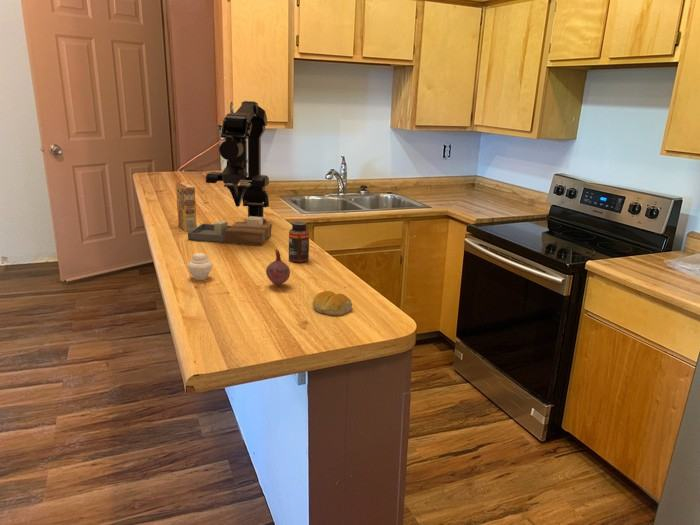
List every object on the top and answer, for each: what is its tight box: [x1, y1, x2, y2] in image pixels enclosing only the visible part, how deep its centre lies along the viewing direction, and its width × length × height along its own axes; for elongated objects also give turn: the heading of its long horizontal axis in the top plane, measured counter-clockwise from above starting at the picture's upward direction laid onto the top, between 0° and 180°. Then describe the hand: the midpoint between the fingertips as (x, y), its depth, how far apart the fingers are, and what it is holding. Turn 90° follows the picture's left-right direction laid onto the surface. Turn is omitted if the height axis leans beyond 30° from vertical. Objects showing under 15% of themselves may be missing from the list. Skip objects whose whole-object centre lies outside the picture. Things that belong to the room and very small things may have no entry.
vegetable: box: [265, 248, 291, 287], centre depth 135 cm, size 6×6×10 cm
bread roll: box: [312, 290, 353, 316], centre depth 124 cm, size 8×9×4 cm
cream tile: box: [245, 216, 264, 227], centre depth 179 cm, size 4×4×2 cm
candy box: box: [175, 182, 198, 232], centre depth 184 cm, size 9×4×15 cm, turn 33°
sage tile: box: [213, 220, 229, 236], centre depth 177 cm, size 4×4×2 cm
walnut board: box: [224, 221, 272, 247], centre depth 176 cm, size 13×12×4 cm
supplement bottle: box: [288, 221, 310, 264], centre depth 157 cm, size 6×6×11 cm
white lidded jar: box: [187, 252, 213, 281], centre depth 138 cm, size 6×6×7 cm
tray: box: [187, 223, 232, 244], centre depth 178 cm, size 13×12×2 cm
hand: (237, 206), depth 170 cm, fingers closed
